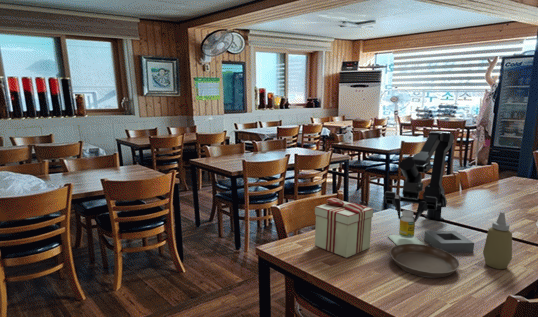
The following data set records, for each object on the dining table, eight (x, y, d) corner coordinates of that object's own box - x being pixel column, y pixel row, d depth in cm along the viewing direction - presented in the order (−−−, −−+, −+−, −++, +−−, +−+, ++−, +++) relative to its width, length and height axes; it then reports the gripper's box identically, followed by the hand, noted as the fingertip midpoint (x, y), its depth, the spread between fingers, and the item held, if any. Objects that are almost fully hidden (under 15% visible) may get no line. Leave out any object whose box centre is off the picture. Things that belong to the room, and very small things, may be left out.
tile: (387, 236, 142) (387, 235, 142) (412, 236, 143) (412, 234, 143) (398, 246, 133) (398, 245, 132) (424, 246, 133) (424, 244, 133)
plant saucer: (468, 285, 106) (469, 274, 106) (394, 278, 110) (395, 267, 109) (447, 255, 126) (448, 246, 126) (385, 250, 130) (386, 241, 129)
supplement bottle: (404, 232, 141) (406, 208, 140) (417, 236, 137) (418, 212, 135) (396, 235, 138) (397, 211, 137) (408, 239, 134) (409, 214, 132)
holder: (424, 239, 140) (424, 230, 139) (454, 239, 140) (455, 230, 140) (440, 252, 128) (441, 243, 127) (473, 252, 129) (474, 242, 128)
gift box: (376, 244, 134) (378, 199, 132) (350, 260, 121) (352, 210, 118) (336, 233, 146) (338, 191, 143) (309, 246, 132) (310, 200, 130)
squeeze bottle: (506, 262, 121) (513, 210, 118) (514, 273, 113) (521, 218, 110) (479, 258, 123) (485, 207, 120) (484, 268, 116) (491, 214, 113)
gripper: (386, 171, 141) (379, 205, 134) (439, 176, 133) (434, 213, 125) (388, 186, 150) (382, 219, 142) (438, 192, 141) (434, 228, 133)
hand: (407, 220), depth 135 cm, fingers closed on supplement bottle, 5 cm apart
